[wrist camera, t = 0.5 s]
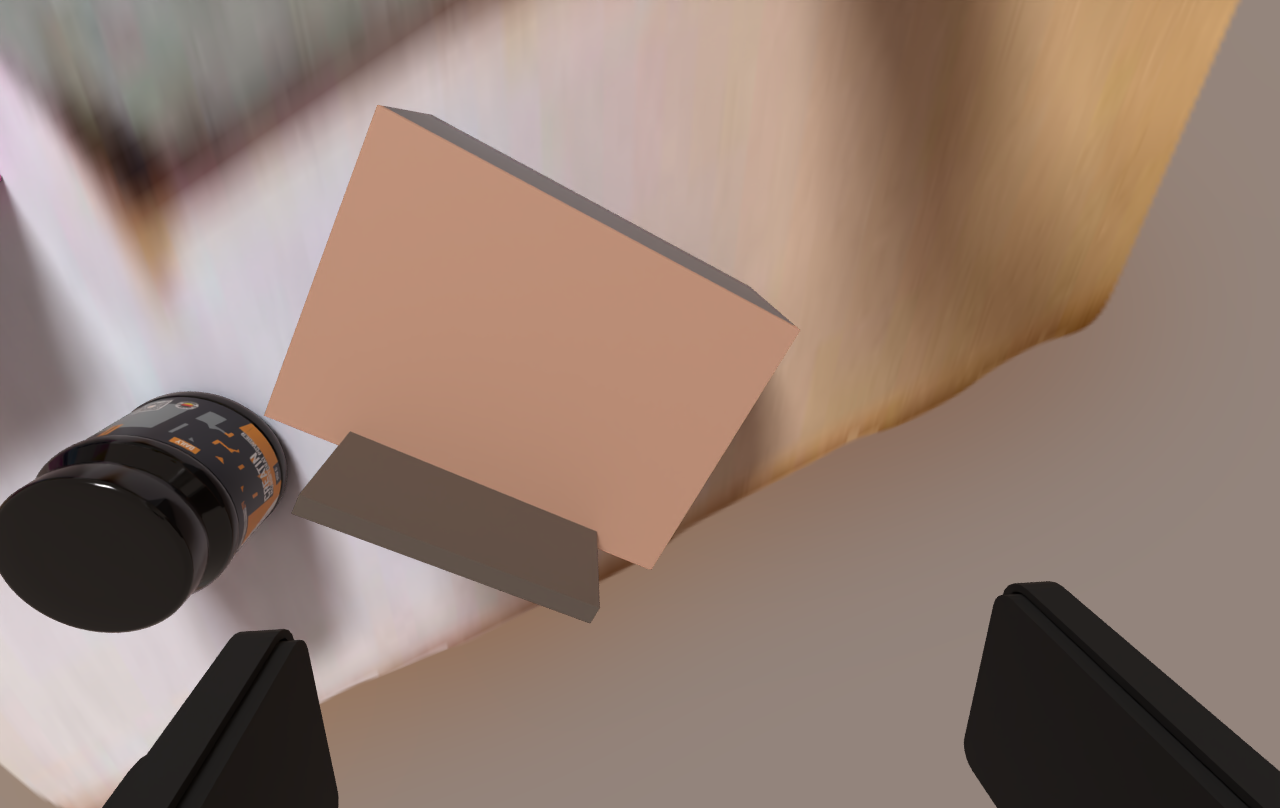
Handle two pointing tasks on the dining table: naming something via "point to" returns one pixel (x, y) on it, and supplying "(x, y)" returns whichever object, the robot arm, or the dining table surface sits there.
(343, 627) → the dining table surface
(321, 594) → the dining table surface
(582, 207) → the carton
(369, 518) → the lid
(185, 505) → the supplement container
